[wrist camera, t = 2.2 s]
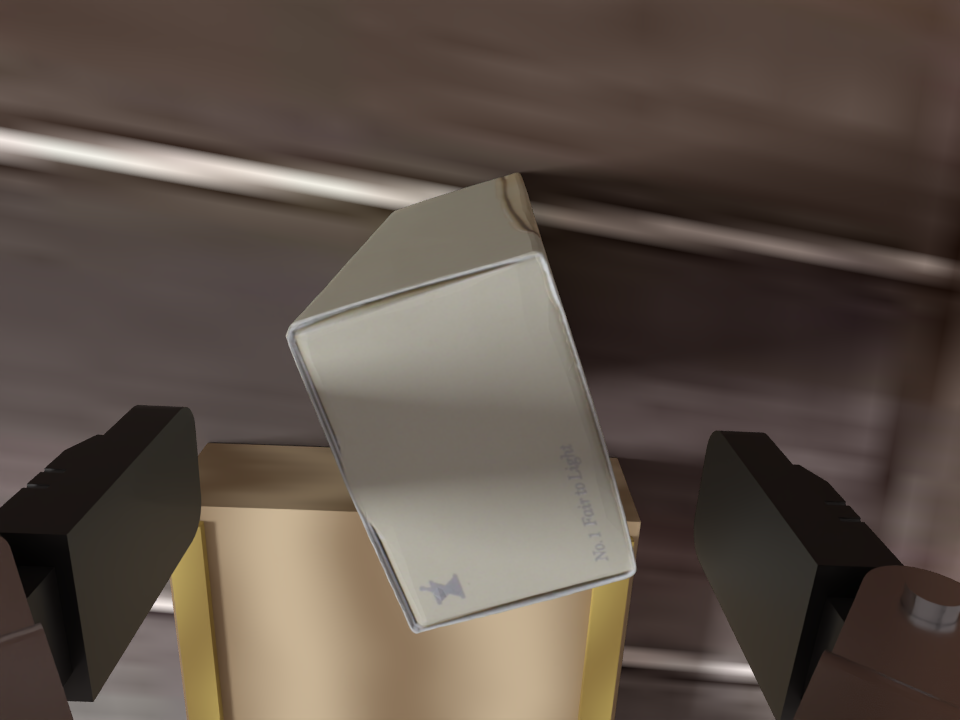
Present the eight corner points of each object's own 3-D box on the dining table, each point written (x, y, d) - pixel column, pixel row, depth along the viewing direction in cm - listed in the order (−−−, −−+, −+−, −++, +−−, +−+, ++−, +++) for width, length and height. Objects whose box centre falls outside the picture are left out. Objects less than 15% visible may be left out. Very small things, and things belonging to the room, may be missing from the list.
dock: (617, 458, 26) (656, 563, 20) (586, 726, 30) (610, 875, 24) (208, 443, 25) (130, 544, 20) (233, 715, 30) (175, 863, 24)
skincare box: (572, 351, 24) (654, 587, 13) (443, 389, 25) (412, 649, 13) (517, 161, 22) (557, 242, 11) (377, 207, 23) (274, 330, 11)
